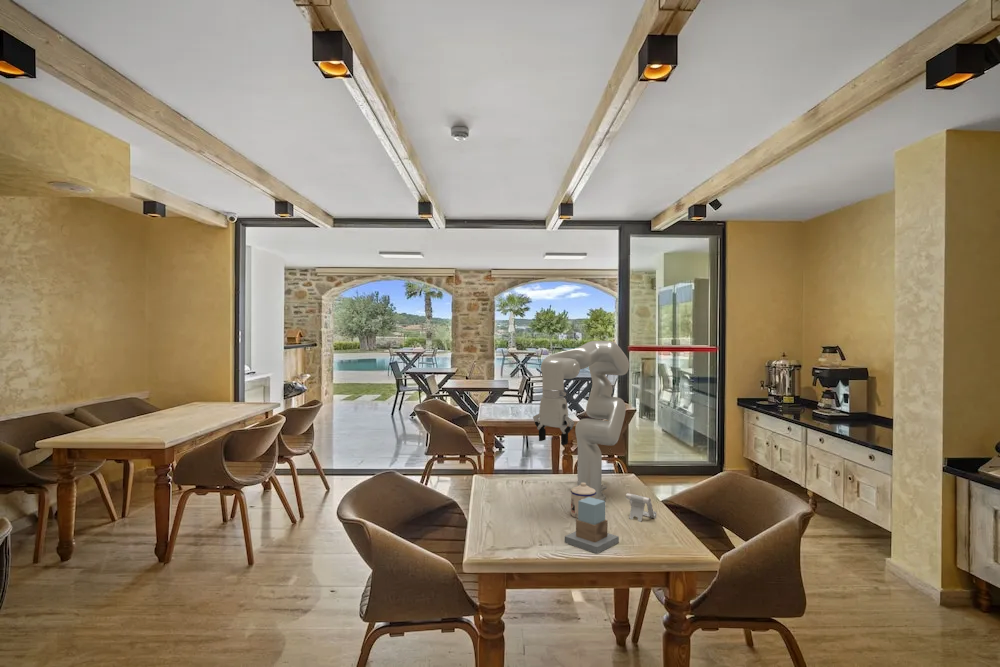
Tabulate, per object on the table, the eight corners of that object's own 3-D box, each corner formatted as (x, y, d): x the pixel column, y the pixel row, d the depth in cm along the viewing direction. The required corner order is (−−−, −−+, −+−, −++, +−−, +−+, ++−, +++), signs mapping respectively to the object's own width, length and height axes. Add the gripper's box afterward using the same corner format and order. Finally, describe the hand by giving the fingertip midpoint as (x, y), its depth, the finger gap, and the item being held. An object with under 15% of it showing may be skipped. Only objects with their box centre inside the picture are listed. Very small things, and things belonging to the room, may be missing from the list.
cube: (589, 515, 169) (589, 496, 169) (605, 520, 164) (605, 501, 164) (578, 520, 164) (578, 500, 164) (594, 525, 160) (594, 505, 160)
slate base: (586, 532, 173) (586, 526, 173) (618, 542, 164) (618, 536, 164) (564, 542, 164) (564, 536, 164) (597, 553, 156) (597, 547, 156)
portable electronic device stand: (656, 518, 188) (656, 494, 188) (646, 523, 182) (646, 499, 182) (634, 512, 194) (634, 489, 194) (624, 517, 188) (624, 494, 188)
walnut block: (588, 530, 169) (588, 514, 169) (607, 536, 164) (607, 520, 164) (575, 536, 164) (576, 520, 164) (594, 542, 159) (594, 525, 159)
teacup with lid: (571, 510, 195) (571, 478, 195) (596, 512, 193) (596, 480, 193) (569, 521, 183) (569, 487, 183) (595, 523, 181) (595, 489, 182)
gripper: (579, 395, 183) (579, 444, 183) (540, 391, 195) (540, 437, 195) (567, 397, 177) (567, 448, 178) (527, 393, 189) (527, 440, 189)
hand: (553, 442), depth 186 cm, fingers open, 9 cm apart
